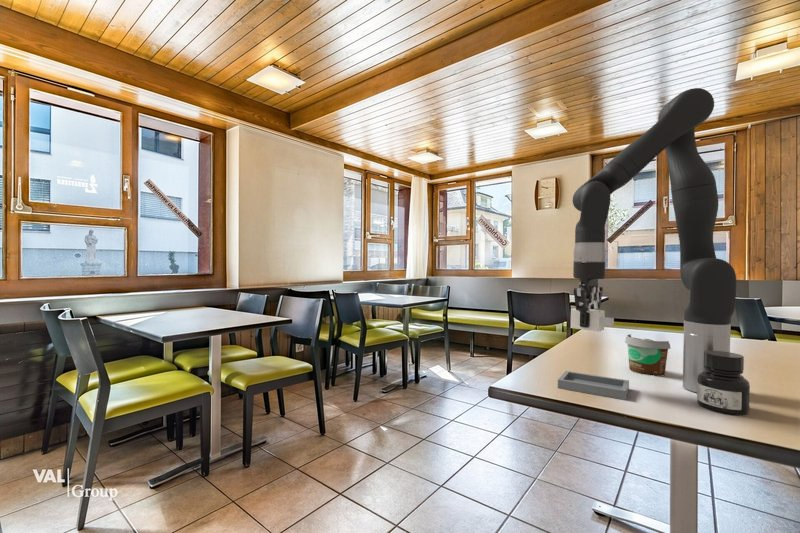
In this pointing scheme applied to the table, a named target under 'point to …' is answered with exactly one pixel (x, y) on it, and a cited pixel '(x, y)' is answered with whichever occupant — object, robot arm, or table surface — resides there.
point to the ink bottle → (723, 383)
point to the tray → (594, 384)
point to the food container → (647, 355)
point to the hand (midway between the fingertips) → (588, 325)
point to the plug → (591, 320)
